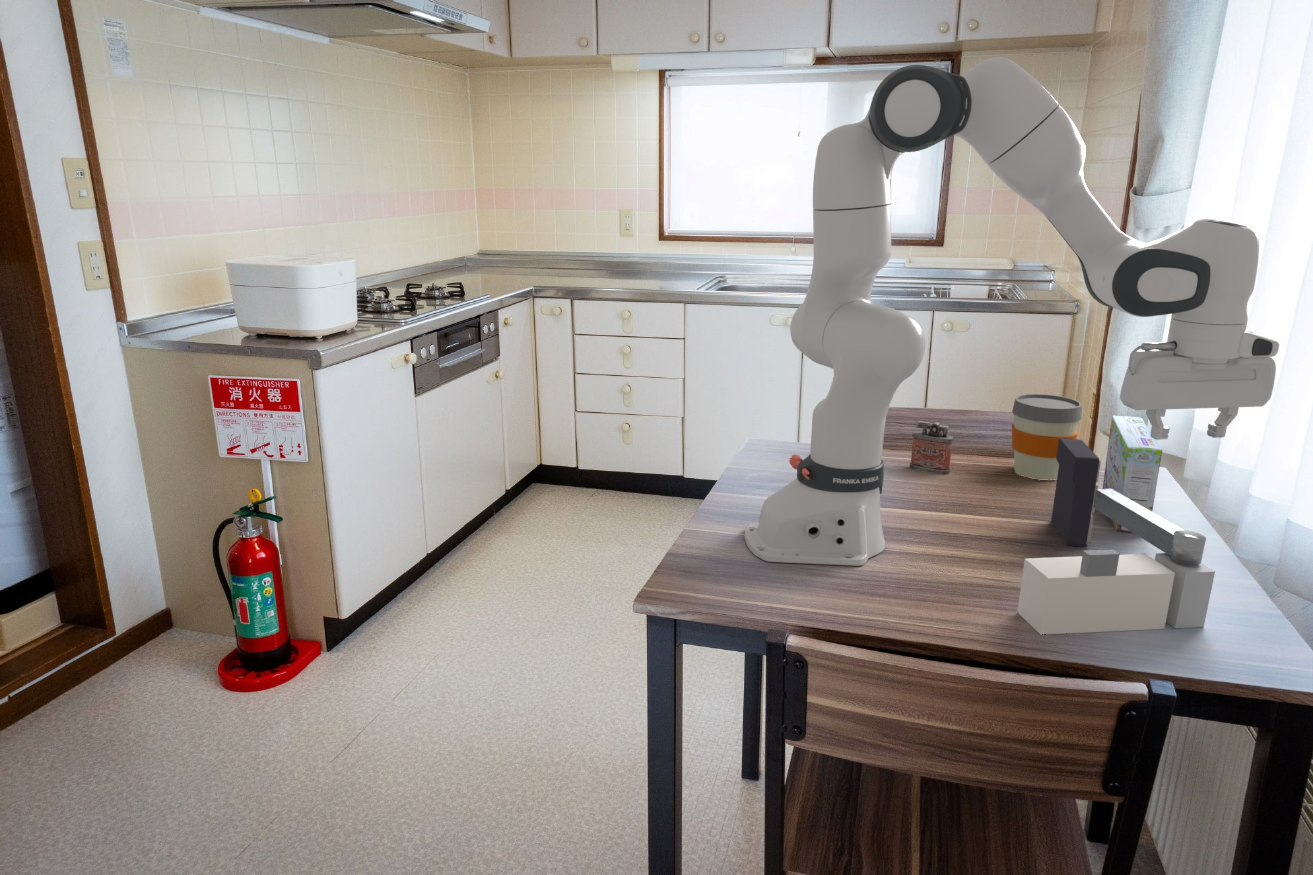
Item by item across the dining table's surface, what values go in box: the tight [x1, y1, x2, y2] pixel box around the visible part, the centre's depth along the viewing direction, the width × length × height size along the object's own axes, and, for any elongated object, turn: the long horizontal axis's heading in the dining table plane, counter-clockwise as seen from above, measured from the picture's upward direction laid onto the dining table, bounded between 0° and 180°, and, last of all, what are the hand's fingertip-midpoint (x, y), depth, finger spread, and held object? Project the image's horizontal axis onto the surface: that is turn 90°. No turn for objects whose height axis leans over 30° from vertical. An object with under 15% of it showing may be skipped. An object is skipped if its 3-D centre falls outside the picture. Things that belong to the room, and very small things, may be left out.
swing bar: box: [1093, 488, 1207, 565], centre depth 121 cm, size 21×4×3 cm, turn 5°
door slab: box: [1017, 549, 1175, 636], centre depth 113 cm, size 17×6×11 cm, turn 95°
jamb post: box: [1154, 552, 1216, 629], centre depth 114 cm, size 4×6×8 cm, turn 5°
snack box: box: [1102, 415, 1163, 533], centre depth 151 cm, size 21×6×15 cm, turn 160°
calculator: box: [1050, 438, 1102, 547], centre depth 141 cm, size 11×4×15 cm, turn 168°
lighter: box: [909, 420, 955, 476], centre depth 173 cm, size 8×3×10 cm, turn 58°
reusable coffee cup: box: [1011, 393, 1083, 480], centre depth 170 cm, size 13×13×15 cm
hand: (1187, 437), depth 121 cm, fingers open, 7 cm apart
